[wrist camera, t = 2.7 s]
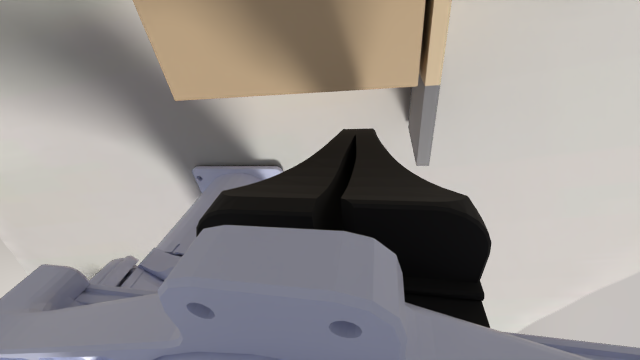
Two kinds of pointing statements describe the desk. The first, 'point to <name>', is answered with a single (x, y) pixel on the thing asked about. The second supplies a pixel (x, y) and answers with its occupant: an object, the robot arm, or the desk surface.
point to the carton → (283, 45)
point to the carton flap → (428, 79)
